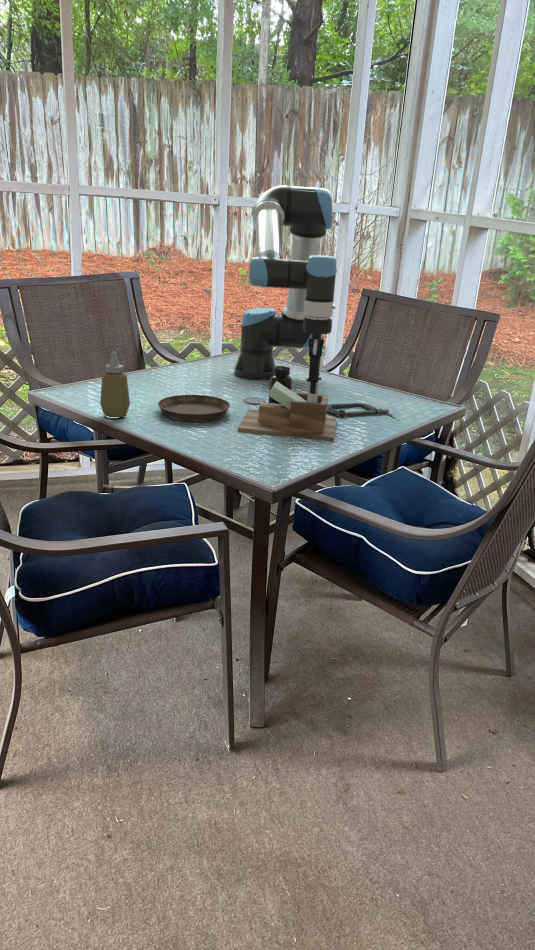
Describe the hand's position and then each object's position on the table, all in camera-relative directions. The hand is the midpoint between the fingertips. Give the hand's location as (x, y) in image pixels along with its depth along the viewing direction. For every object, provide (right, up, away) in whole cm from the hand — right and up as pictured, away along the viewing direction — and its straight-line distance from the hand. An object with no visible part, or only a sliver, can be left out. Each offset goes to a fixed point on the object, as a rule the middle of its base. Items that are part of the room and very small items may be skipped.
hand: (312, 404), depth 183 cm
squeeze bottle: (-55, -3, +2) cm, 55 cm away
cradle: (-6, -6, +3) cm, 9 cm away
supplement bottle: (-9, +1, +21) cm, 23 cm away
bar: (-6, -1, +1) cm, 6 cm away
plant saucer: (-34, -2, +9) cm, 35 cm away
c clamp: (+15, -1, +20) cm, 25 cm away
